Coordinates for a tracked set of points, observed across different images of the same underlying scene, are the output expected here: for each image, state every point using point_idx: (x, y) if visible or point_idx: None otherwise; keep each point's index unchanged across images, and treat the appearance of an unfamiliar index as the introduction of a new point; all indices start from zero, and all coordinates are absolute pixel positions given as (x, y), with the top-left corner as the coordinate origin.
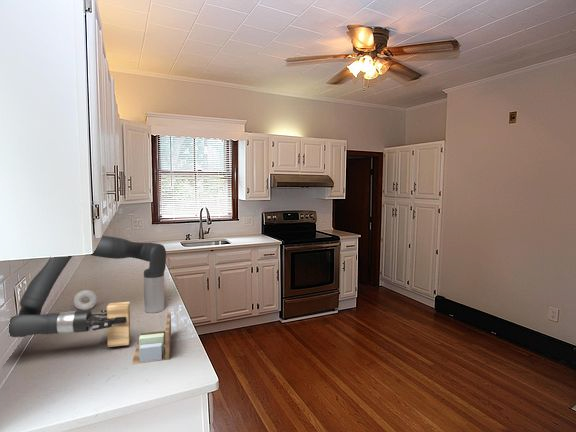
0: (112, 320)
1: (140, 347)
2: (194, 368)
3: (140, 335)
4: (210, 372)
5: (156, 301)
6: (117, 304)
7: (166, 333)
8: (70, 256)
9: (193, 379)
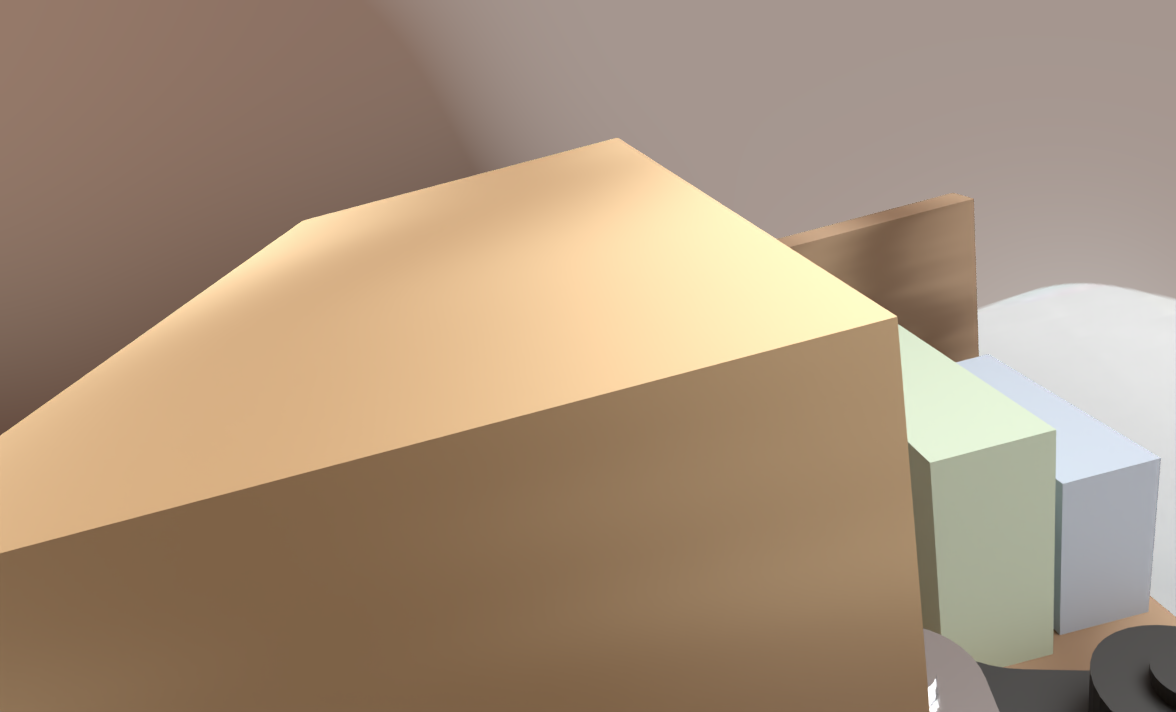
0: (1018, 685)
1: (1127, 460)
2: (984, 353)
3: (929, 458)
4: (998, 303)
5: None
6: (435, 247)
7: (965, 212)
8: None
9: (1118, 323)
